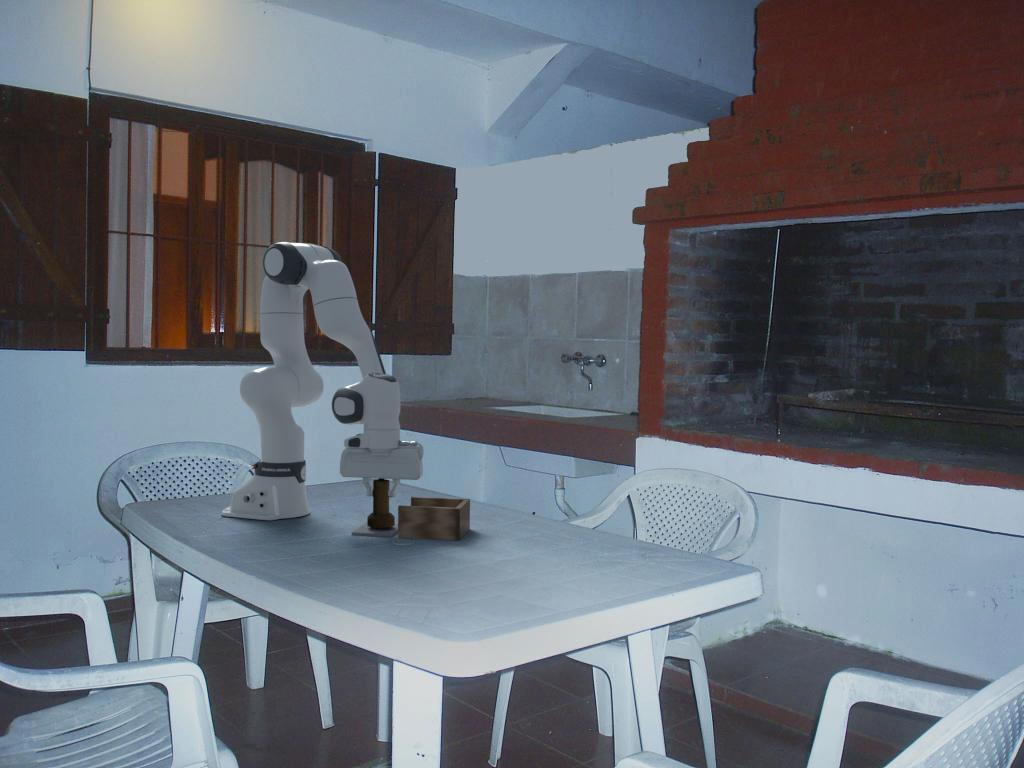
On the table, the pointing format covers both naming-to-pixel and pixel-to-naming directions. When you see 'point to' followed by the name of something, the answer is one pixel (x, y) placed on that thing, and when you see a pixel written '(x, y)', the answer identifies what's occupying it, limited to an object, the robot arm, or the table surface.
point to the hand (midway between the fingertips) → (381, 496)
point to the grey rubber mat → (376, 531)
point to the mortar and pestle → (380, 506)
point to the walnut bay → (434, 518)
